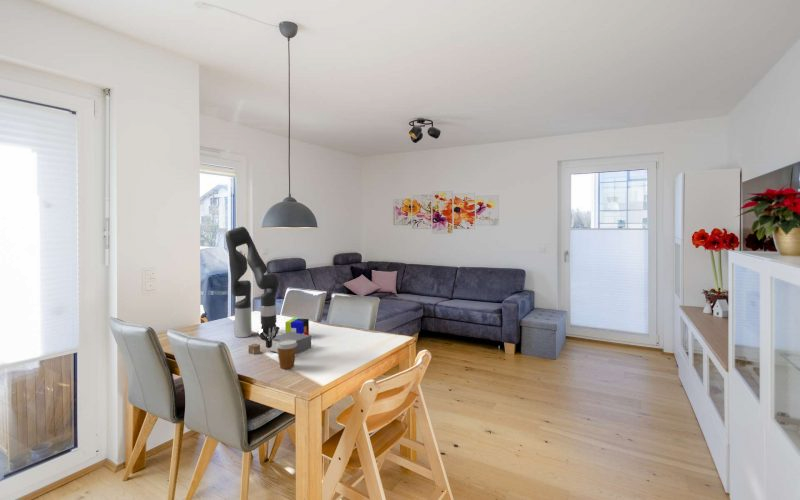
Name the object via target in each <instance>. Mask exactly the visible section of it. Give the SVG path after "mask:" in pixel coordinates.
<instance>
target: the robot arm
mask: <svg viewBox="0 0 800 500" xmlns="http://www.w3.org/2000/svg"><path fill="white" fill-rule="evenodd" d="M225 242H226V247H227V253H228V263H229V265H228V266H229V270H230V283H231V286H230V289H231V293H232V296H234V297H244V298H243V299H241V300H238V301H237V302H235V303H234V320H233V335H234V337H235V338H247V337H252V333H253V332H252V331H253V330H252V298H251V297H252V283H251V281H250V280H246V279H245V280H240V279H241V278H242V277H243V276H244V275H245V274H246V272H247V270H248V266H249V268H250V269H251V270H250V271H252V273H253V276H254V279H255V283H256V286H257V288H259V289H261V290H266V291H265V292H264V293H262V294H260V295H261V296H260V324H261V327H260V330H259V331H258V332H257V333H256V334H257V336H258V337H259V338H260V339H261V340H262V341H265V347H266V348H267V349H269V348H271V347H272V340H273V338H275V337H276V336H277V335H278V333H279V330H280V327H279V326H277V306H276V305H277V302H276V296H277V294H278V293H277V292H278V289H279V283H280V280H279V277H278V276H277V274H275V273H270V274H269V273H268V274H266V273H267V272H268V267H267V264H266V263H265V262H264V260H263V259H262V257H261V256H260V254H259V252H258V250H257V248H256V245H255V243H254V241H253V239H252V236H251V235H250V232H249V231H248V229H247V228H246V227H245V226H239V227H236V228H232V229H230V230H227V231H225ZM243 245H246V246H247V256H245V255H244V254H243V253H242V252H240V251H238V250H237V249H236V248H238V247H240V246H243Z"/></svg>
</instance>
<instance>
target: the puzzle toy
mask: <svg viewBox="0 0 800 500" xmlns="http://www.w3.org/2000/svg"><path fill="white" fill-rule="evenodd" d="M309 321H310V318H302V317H301V318H297V317H292V318H291V319H288V320H287V321H285V333H287V332H293V333H299V334H305V335H310V326H309V325H310V322H309Z"/></svg>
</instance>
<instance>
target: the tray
mask: <svg viewBox="0 0 800 500" xmlns="http://www.w3.org/2000/svg"><path fill="white" fill-rule="evenodd" d="M276 345H277V341H272V347H271V348H268V351H270V352H273V351H274V352H273V353H277V352H278V349H277V346H276Z"/></svg>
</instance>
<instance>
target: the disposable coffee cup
mask: <svg viewBox="0 0 800 500" xmlns="http://www.w3.org/2000/svg"><path fill="white" fill-rule="evenodd" d="M276 346H277V349H278V353H277V354H278V355H277V356H278V361H279V369H281V370H291V369H293V368H295V360H296V355H295V353H296V346H297V343H296V340H292V339H286V340H281V341H278V342H277V345H276Z"/></svg>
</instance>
